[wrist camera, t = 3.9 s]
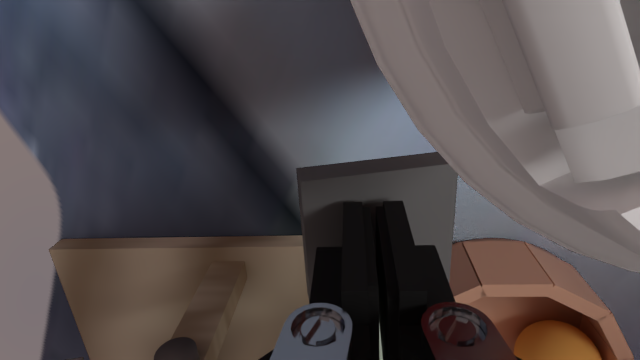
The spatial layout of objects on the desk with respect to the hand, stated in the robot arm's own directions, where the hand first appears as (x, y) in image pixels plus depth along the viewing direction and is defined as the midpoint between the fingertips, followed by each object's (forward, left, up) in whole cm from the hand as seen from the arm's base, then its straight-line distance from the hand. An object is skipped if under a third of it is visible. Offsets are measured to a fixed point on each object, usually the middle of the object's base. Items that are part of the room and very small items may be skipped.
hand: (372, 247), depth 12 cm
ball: (-9, +9, -5) cm, 14 cm away
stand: (+8, +9, -7) cm, 14 cm away
